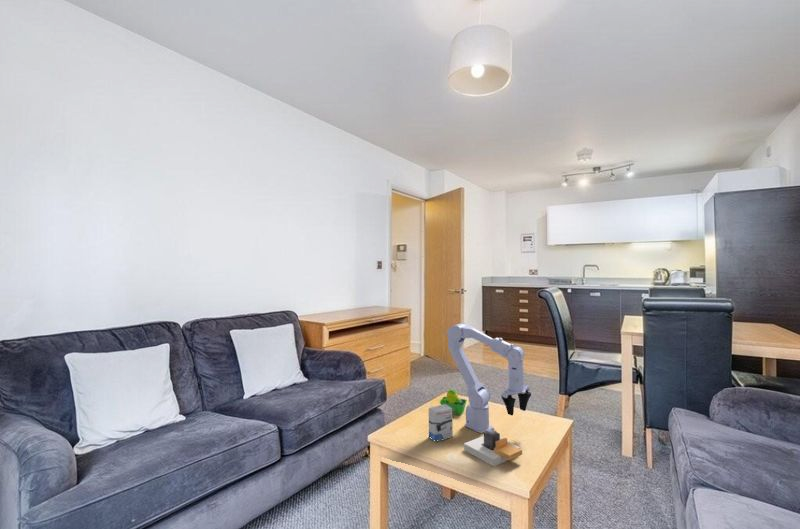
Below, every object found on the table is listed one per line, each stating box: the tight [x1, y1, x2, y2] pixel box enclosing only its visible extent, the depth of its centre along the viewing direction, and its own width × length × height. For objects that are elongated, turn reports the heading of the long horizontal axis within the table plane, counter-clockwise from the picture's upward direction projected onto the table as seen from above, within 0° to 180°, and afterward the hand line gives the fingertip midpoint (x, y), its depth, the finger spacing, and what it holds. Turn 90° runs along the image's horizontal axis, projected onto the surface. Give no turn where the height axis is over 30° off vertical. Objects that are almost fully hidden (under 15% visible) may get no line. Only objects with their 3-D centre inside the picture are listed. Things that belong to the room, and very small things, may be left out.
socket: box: [463, 435, 521, 467], centre depth 134 cm, size 14×14×2 cm
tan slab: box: [494, 437, 523, 461], centre depth 128 cm, size 7×7×4 cm
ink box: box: [428, 404, 454, 442], centre depth 147 cm, size 8×5×12 cm, turn 117°
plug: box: [483, 429, 501, 451], centre depth 134 cm, size 4×4×8 cm
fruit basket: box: [439, 388, 467, 415], centre depth 173 cm, size 11×9×11 cm
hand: (516, 412), depth 147 cm, fingers open, 7 cm apart
